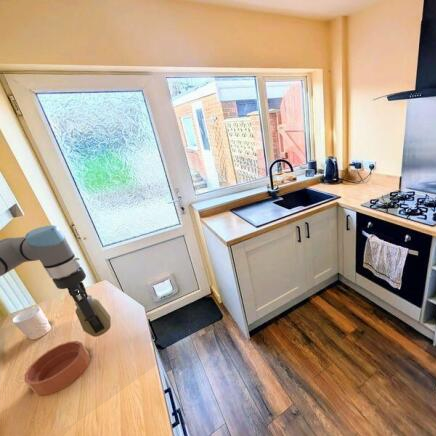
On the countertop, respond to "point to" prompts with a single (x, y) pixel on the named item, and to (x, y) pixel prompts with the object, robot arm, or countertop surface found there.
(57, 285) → the robot arm
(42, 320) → the white cup
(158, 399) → the countertop surface
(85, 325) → the squeeze bottle
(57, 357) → the bowl
